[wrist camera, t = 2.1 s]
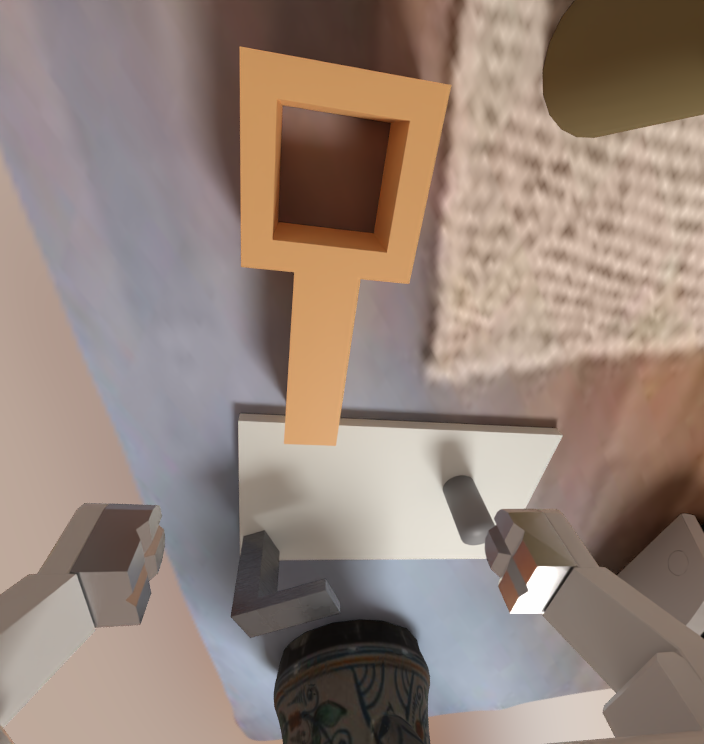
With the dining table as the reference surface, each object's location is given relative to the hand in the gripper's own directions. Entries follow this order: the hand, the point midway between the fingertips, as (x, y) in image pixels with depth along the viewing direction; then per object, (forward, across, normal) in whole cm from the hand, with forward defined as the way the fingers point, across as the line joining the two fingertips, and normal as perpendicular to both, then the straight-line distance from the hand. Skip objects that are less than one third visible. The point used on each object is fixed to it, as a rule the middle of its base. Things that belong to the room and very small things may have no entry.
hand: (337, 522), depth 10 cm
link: (+15, 0, -2) cm, 15 cm away
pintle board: (+15, -7, +16) cm, 23 cm away
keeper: (+15, 0, +20) cm, 25 cm away
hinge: (+16, -35, +26) cm, 46 cm away
